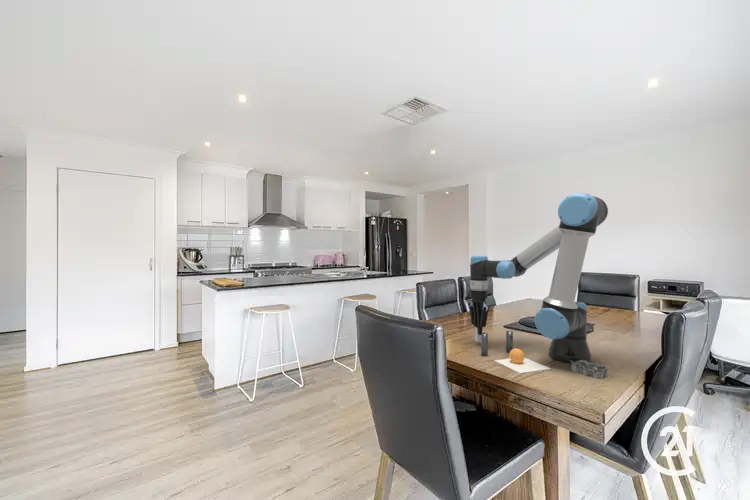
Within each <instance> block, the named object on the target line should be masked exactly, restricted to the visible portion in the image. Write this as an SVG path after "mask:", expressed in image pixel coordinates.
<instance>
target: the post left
mask: <svg viewBox="0 0 750 500" xmlns="http://www.w3.org/2000/svg"><path fill="white" fill-rule="evenodd" d="M480 344H481V345H480V350H481V351H480V356H482V357H488V356H489V333H487V332H482V333H481V342H480Z"/></svg>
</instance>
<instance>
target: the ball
mask: <svg viewBox="0 0 750 500" xmlns="http://www.w3.org/2000/svg"><path fill="white" fill-rule="evenodd" d="M508 354H509V355H508V356H509V359H511V361H512V362H514V363H521V362H523V360H524V358H526V357H525V353H524V351H523V350H521V349H519V348H513V349H512V350H511V351H510V353H508Z"/></svg>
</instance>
